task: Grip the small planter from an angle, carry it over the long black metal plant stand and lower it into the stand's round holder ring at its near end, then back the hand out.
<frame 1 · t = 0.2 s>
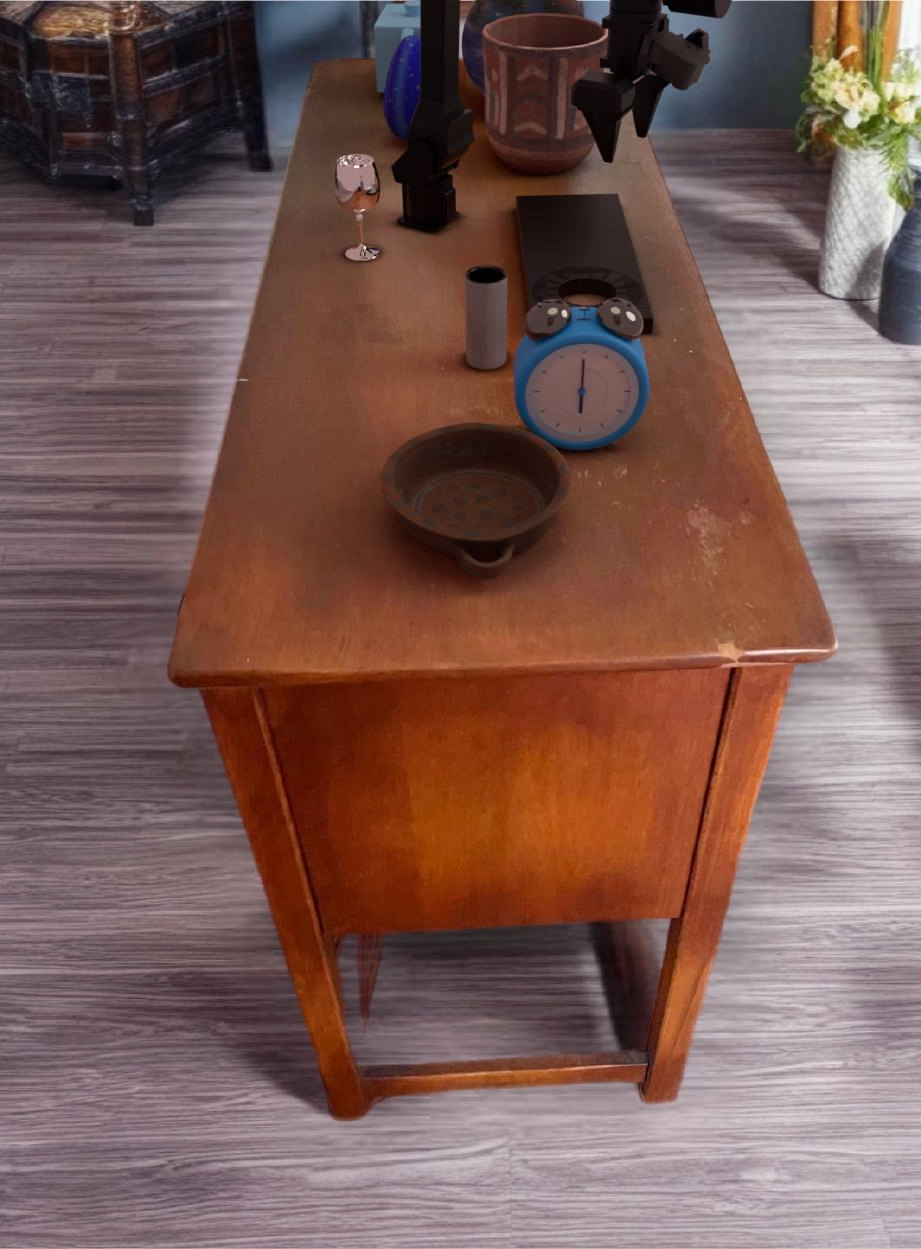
hand: (625, 149, 141), 15 cm above the table, tool pointing down, fingers open, 9 cm apart
decorative sphere: (523, 110, 195), on the table
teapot: (418, 88, 204), on the table
wineglass: (362, 255, 155), on the table
alarm clock: (577, 438, 122), on the table
dish: (476, 519, 112), on the table
pottery: (541, 160, 178), on the table
planter: (486, 361, 134), on the table
ornament: (416, 140, 185), on the table
plant stand: (577, 266, 151), on the table
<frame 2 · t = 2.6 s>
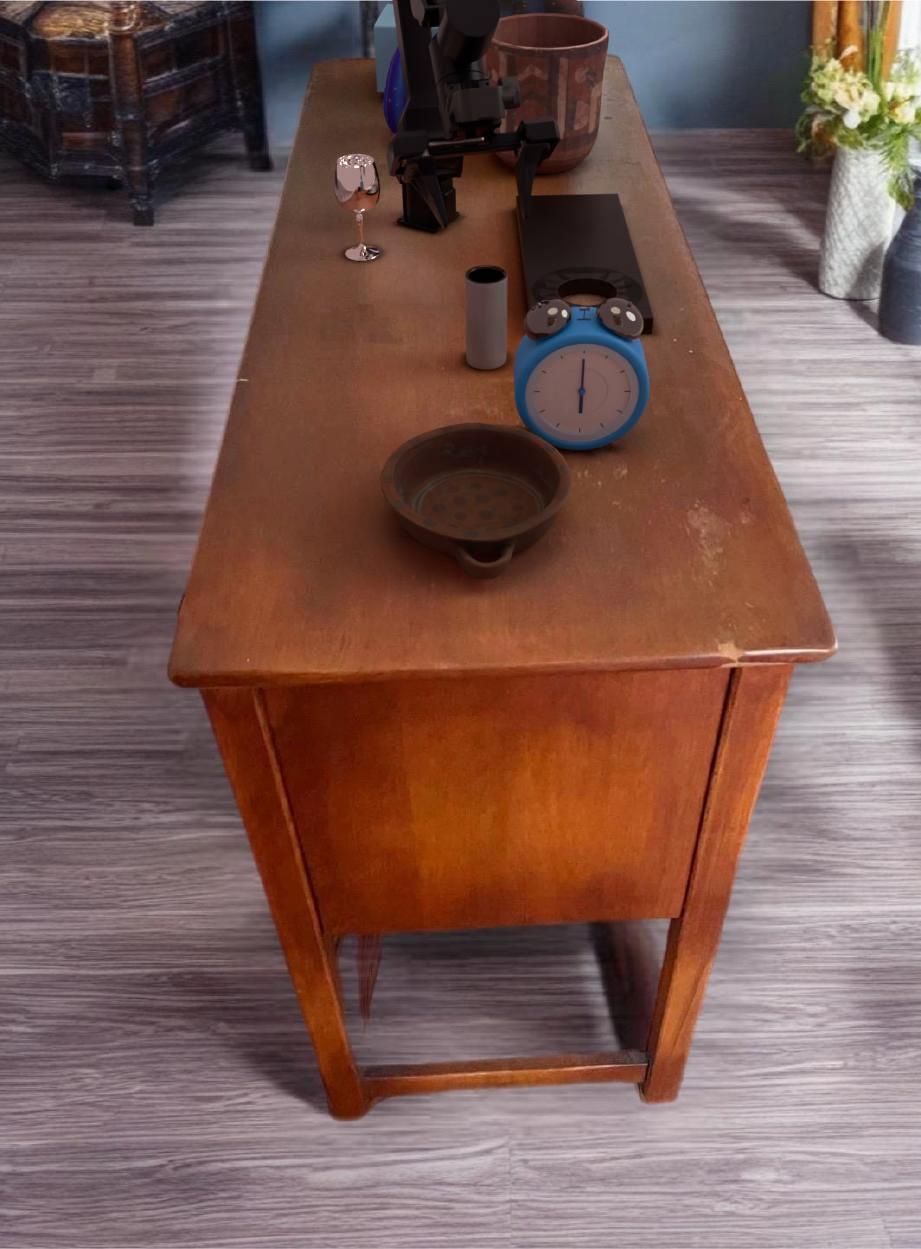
hand: (486, 223, 132), 12 cm above the table, tool tilted 40°, fingers open, 9 cm apart
nothing on the table moved.
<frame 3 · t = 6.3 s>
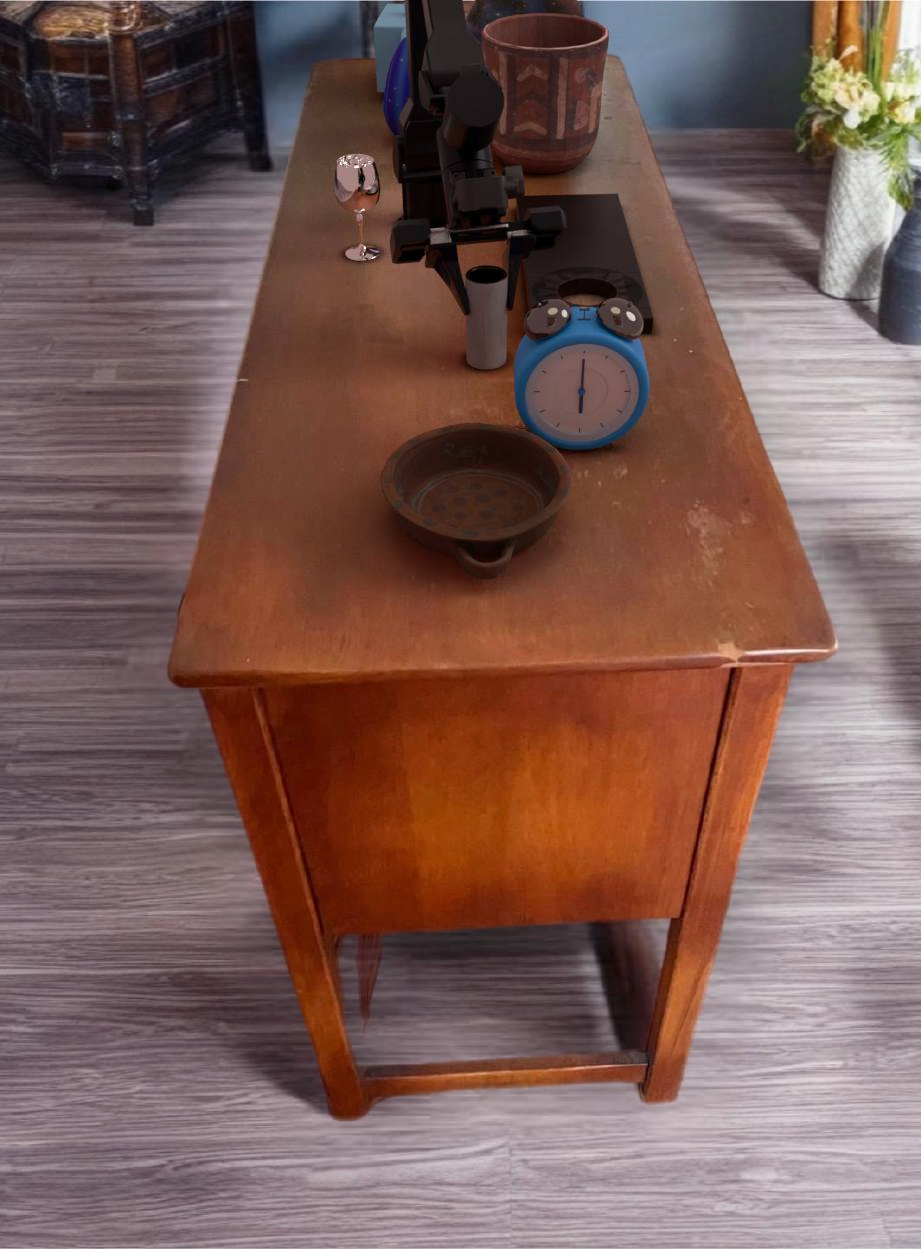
hand: (488, 312, 128), 7 cm above the table, tool tilted 45°, fingers closed on planter, 4 cm apart
planter: (486, 361, 134), on the table, touching gripper
everything else where it was.
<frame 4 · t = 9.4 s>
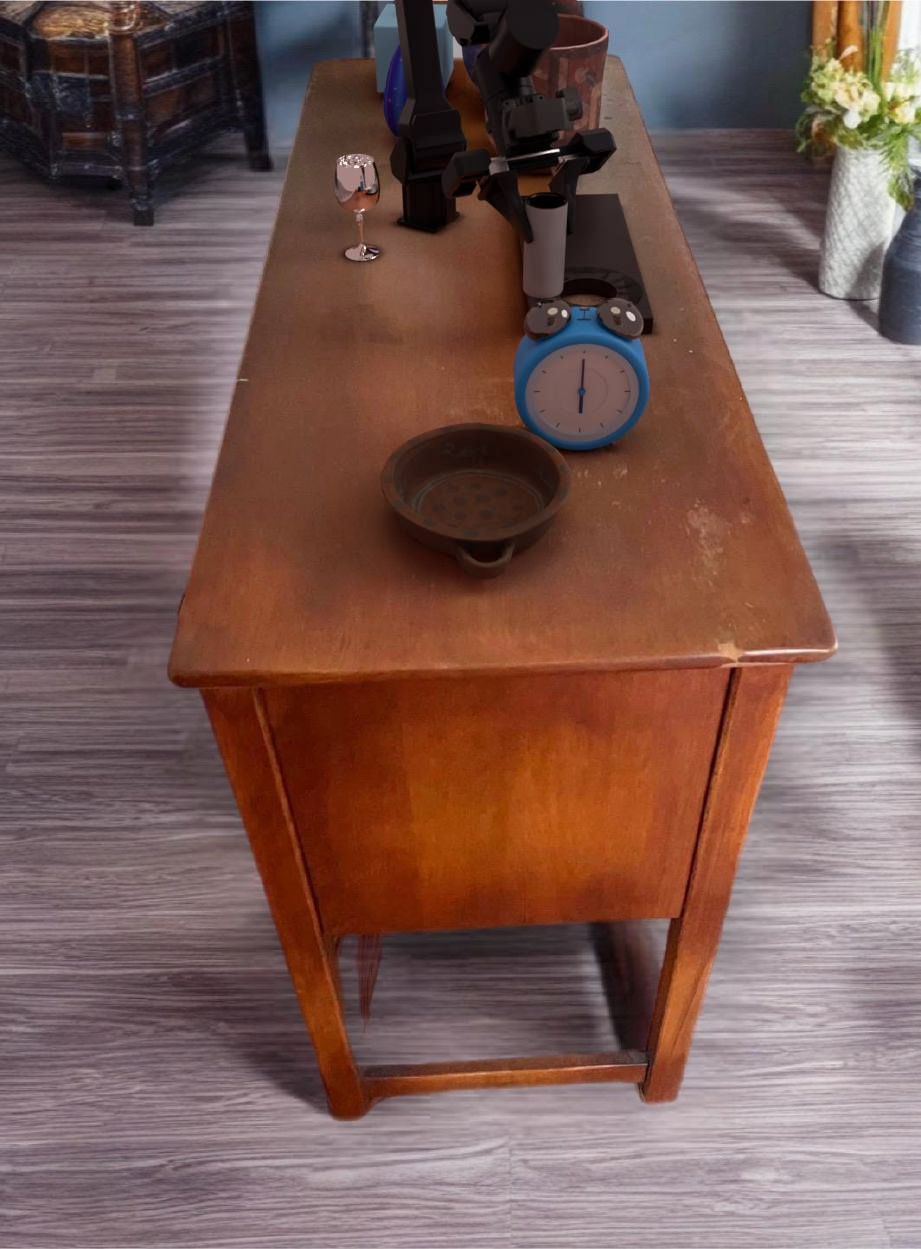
hand: (550, 238, 129), 12 cm above the table, tool tilted 45°, fingers closed on planter, 4 cm apart
planter: (542, 291, 134), point 6 cm above the table, touching gripper
everything else where it was.
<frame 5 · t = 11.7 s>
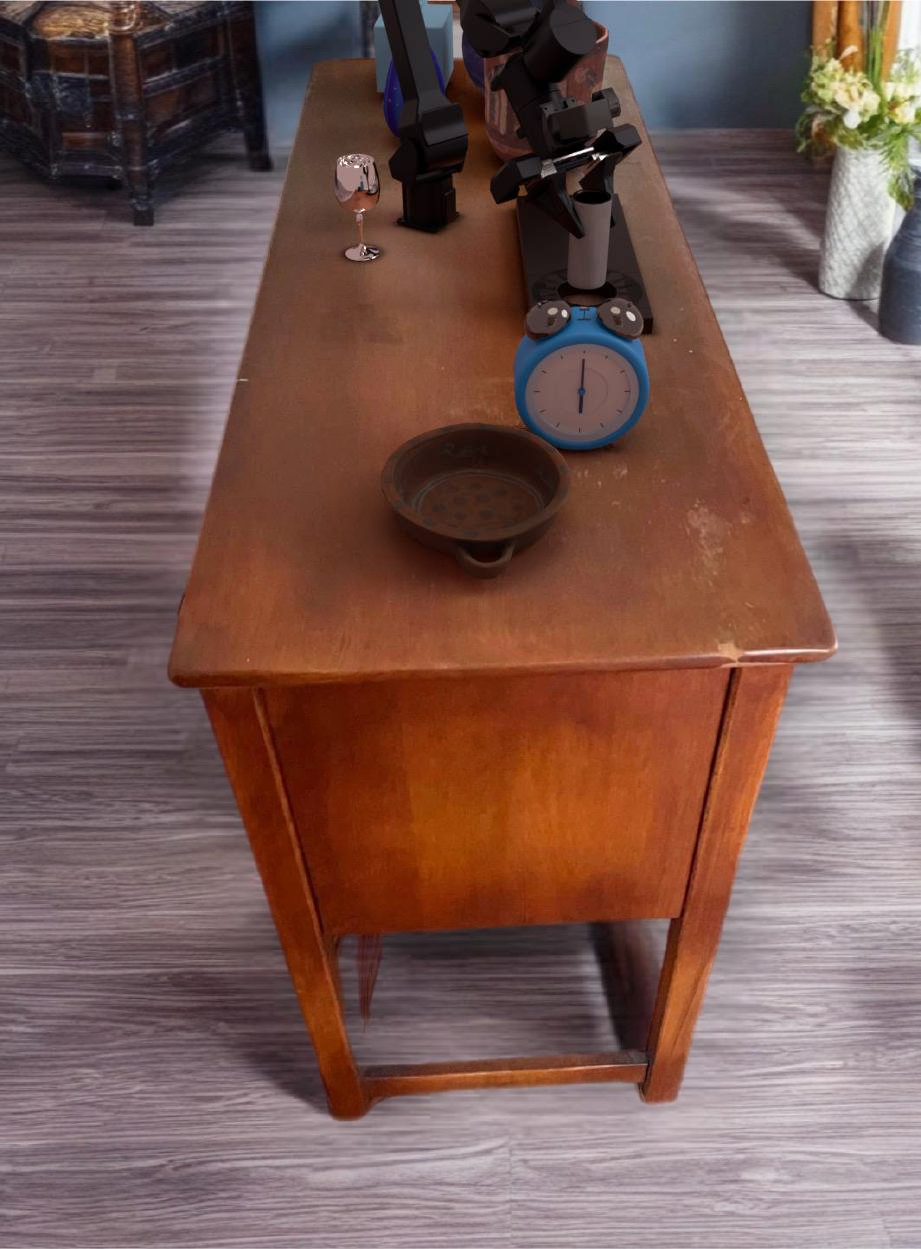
hand: (597, 232, 136), 10 cm above the table, tool tilted 45°, fingers closed on planter, 4 cm apart
planter: (586, 282, 141), point 3 cm above the table, touching gripper
everything else where it was.
when the fingers open (7 cm above the table, at t = 13.0 s): planter stays where it is, resting in plant stand.
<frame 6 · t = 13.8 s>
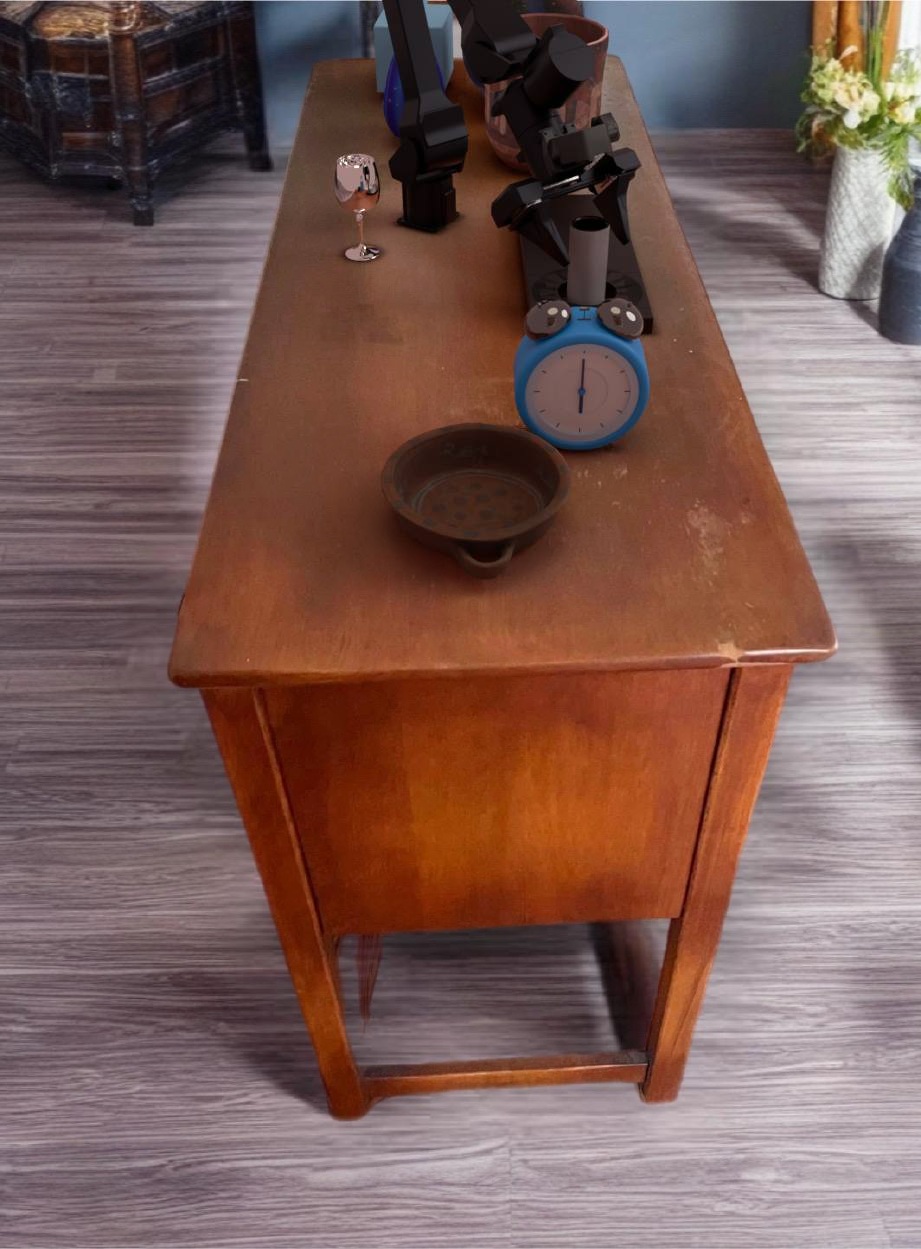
hand: (597, 254, 137), 7 cm above the table, tool tilted 45°, fingers open, 9 cm apart
planter: (585, 307, 143), resting in plant stand
everything else where it was.
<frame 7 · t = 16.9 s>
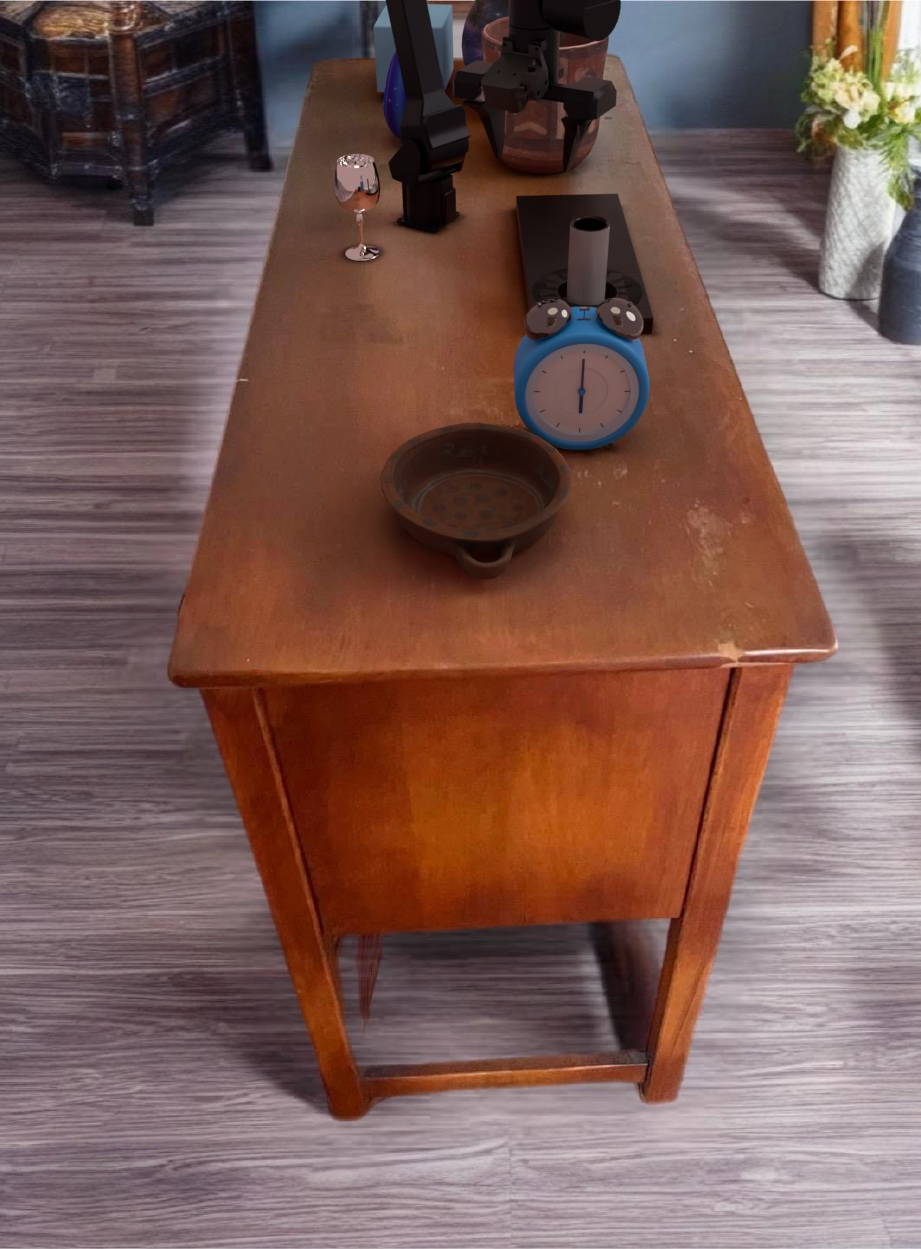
hand: (532, 164, 142), 13 cm above the table, tool pointing down, fingers open, 9 cm apart
nothing on the table moved.
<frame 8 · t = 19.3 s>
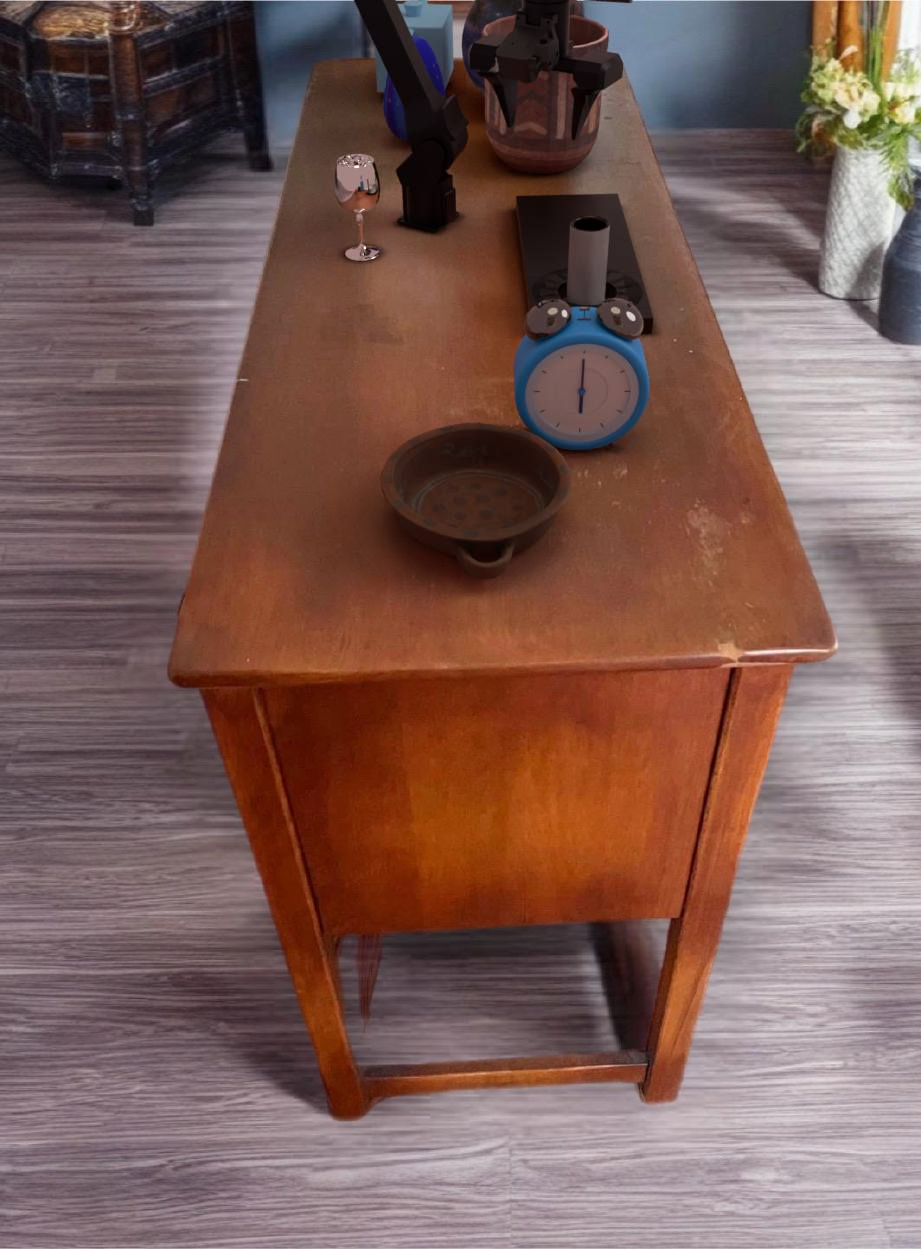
hand: (542, 133, 150), 13 cm above the table, tool pointing down, fingers open, 9 cm apart
nothing on the table moved.
at the end: planter 0.2 cm from the target spot in the plant stand, point 0.0 cm above the plant stand's base; planter tilted 0°; the gripper is holding nothing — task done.
